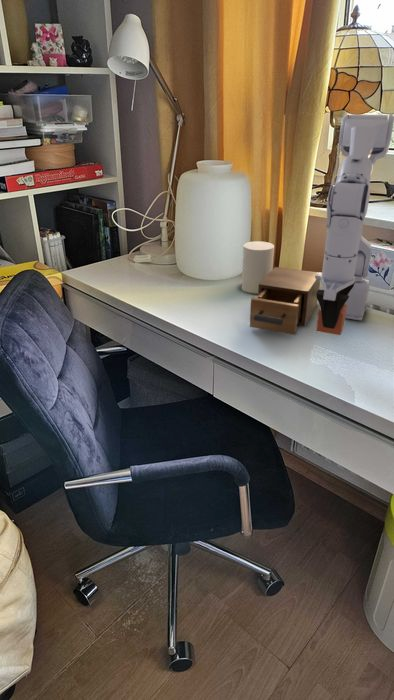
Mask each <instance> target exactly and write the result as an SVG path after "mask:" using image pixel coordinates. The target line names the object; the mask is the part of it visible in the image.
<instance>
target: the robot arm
mask: <svg viewBox="0 0 394 700" xmlns="http://www.w3.org/2000/svg"><path fill="white" fill-rule="evenodd" d="M339 129H340V130H339V137H338V138H339V139H338V144H339V148H340V152H341V156H344V159H343V160H342V161H341V162H340V164H339V168H338V172H337V176H336V179H335V182H334V183H335V184H334V185H333V184H332V185H330V186H329V187H330V188H329V190H328V193H327V202H326V228H327V230H326V236H325V244H324V245H325V246H324V254H323V262H322V270H321V271H316V272H317V273H316V274H315V279H320V283H321V285H322V287H323V289H320V288H319V289H318V291H317V293H316V297H317V303H318V304H319V309H320V308H321V314H322V323H323V327H326V328H332V329H334V328H335V326H336V323H337V320H338V317H339V314H340V311H341V309H342V307H343V305H344V304H345V305H347V310H346V317H345V319H349V320H354V321H362V320H363V318H364V316H365V312H366V311H367V308H368V297H369V290H370V285H371V280H369V279H366V278H367V277H368V276H369V270H370V264H371V258H372V249H373V246H372V243H371V242H370V241H368V240H367V239H366V238H365V237H364V236H363V228H364V222H365V219H366V216H367V214H368V208H369V204H370V203H369V202H370V198H371V197H370V196H371V179H372V174H373V169H374V166H375V164H376V162H377V160H380V159H382V158H385V157H387V154H388V153H389V149H390V146H391V141H392V135H393V129H394V115H393V113H389V114H350V113H345V115H343V116H342V118H341V123H340V128H339Z"/></svg>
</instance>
